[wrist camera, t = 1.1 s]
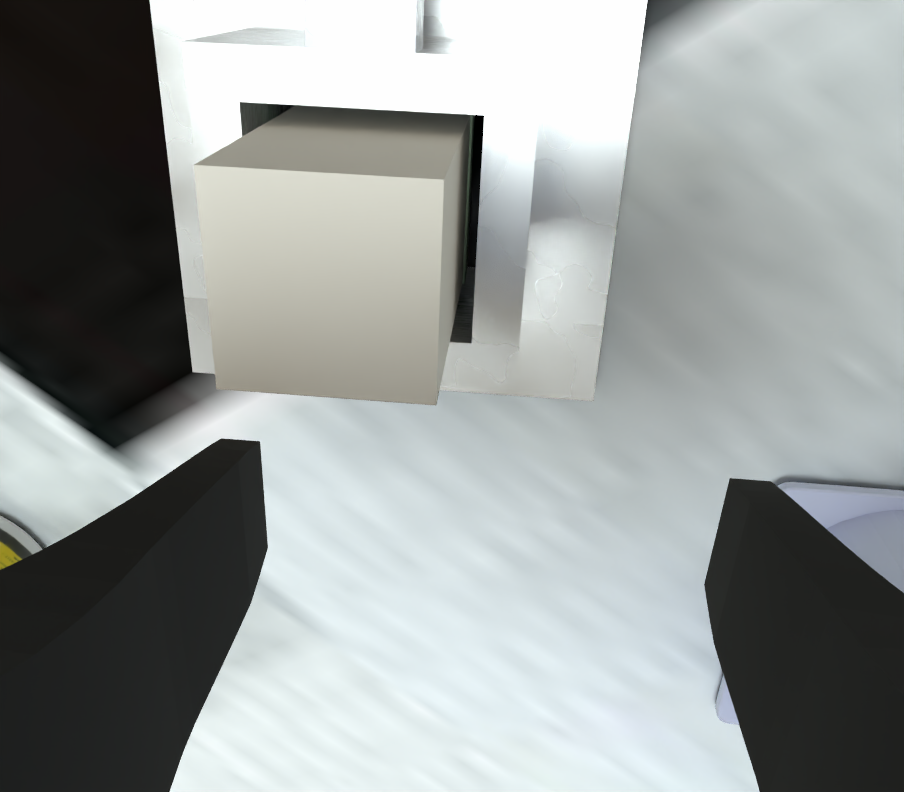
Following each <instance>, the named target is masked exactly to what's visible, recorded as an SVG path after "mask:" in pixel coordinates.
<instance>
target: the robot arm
mask: <svg viewBox="0 0 904 792" xmlns="http://www.w3.org/2000/svg"><path fill="white" fill-rule="evenodd" d="M267 548H268V544H267V531H266V517H265V504H264V490H263V477H262V463H261V450H260V442H259V441H246V440H233V439H220V440H218V441H216V442H215V443H213V444H211V445H210V446H208V447H207V448H205V449H204V450H202V451H201V452H199V453H198V454H196V455H195V456H193V457H192V458H190V459H189V460H188V461H186V462H185V463H183V464H182V465H180V466H179V467H177V468H176V469H174V470H173V471H171V472H170V473H169V474H167V475H166V476H164V477H163V478H161V479H160V480H158V481H157V482H155V483H154V484H152V485H151V486H149V487H148V488H146V489H145V490H143V491H142V492H140V493H139V494H137V495H136V496H134V497H133V498H131V499H129V500H128V501H126V502H125V503H123V504H121V505H120V506H118V507H116V508H115V509H113V510H111V511H110V512H108V513H106V514H105V515H103V516H101V517H100V518H98V519H96V520H95V521H93V522H91V523H90V524H88V525H86V526H85V527H83V528H81V529H80V530H78V531H76V532H75V533H73V534H71V535H69V536H67V537H65V538H64V539H62V540H60V541H58V542H56V543H54V544H52V545H50V546H49V547H47V548H45V549H43V550H41V551H39V552H36V553H34V554H32V555H30V556H28V557H26V558H24V559H22V560H20V561H18V562H16V563H14V564H12V565H10V566H7V567H5V568H3V569H1V570H0V792H169V791H170V788H171V785H172V783H173V780H174V777H175V774H176V771H177V768H178V765H179V762H180V759H181V756H182V754H183V751H184V749H185V746H186V744H187V741H188V739H189V736H190V734H191V732H192V729H193V727H194V724H195V722H196V720H197V718H198V716H199V714H200V712H201V709H202V707H203V705H204V703H205V701H206V699H207V697H208V694H209V692H210V690H211V688H212V686H213V684H214V682H215V680H216V677H217V675H218V673H219V671H220V669H221V667H222V665H223V662H224V660H225V658H226V656H227V654H228V652H229V650H230V648H231V645H232V643H233V641H234V639H235V637H236V635H237V632H238V630H239V628H240V626H241V624H242V621H243V619H244V617H245V615H246V613H247V610H248V608H249V606H250V604H251V601H252V598H253V595H254V592H255V588H256V585H257V582H258V579H259V576H260V572H261V569H262V565H263V562H264V559H265V555H266V552H267ZM704 585H705V592H706V598H707V605H708V611H709V618H710V623H711V629H712V634H713V640H714V645H715V648H716V651H717V655H718V658H719V661H720V665H721V668H722V671H723V677H722V681H721V685H720V689H719V693H718V697H717V700H716V704H715V709H716V713H717V716H718V718H719V719H720V720H721V721H723V722H725V723H729V724H738V725H740V728H741V732H742V735H743V738H744V741H745V744H746V747H747V751H748V754H749V757H750V760H751V763H752V766H753V769H754V773H755V776H756V779H757V783H758V787H759V791H760V792H904V490H891V489H878V488H865V487H852V486H839V485H826V484H814V483H801V482H784V483H782V484H779V485H777V486H776V485H775V484H774V483H772V482H771V481H758V480H745V479H732V478H730V480H729V484H728V488H727V492H726V496H725V501H724V505H723V509H722V513H721V517H720V521H719V526H718V530H717V534H716V538H715V542H714V546H713V551H712V555H711V559H710V563H709V567H708V571H707V576H706V580H705V584H704Z"/></svg>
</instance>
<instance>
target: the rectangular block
mask: <svg viewBox="0 0 904 792" xmlns="http://www.w3.org/2000/svg"><path fill="white" fill-rule="evenodd" d="M474 120H475V115H469V114H451V113H432V112H414V111H396V110H378V109H359V108H341V107H323V106H305V105H295V106H294V107H292V108H291V109H289V110H287V111H285V112H284V113H282V114H280V115H279V116H277V117H275V118H273V119H272V120H270V121H268V122H267V123H265V124H263V125H261V126H260V127H258V128H256V129H254V130H253V131H251V132H249V133H248V134H246V135H244V136H242V137H241V138H239V139H237V140H236V141H234V142H232V143H230V144H229V145H227V146H225V147H224V148H222V149H220V150H218V151H217V152H215V153H213V154H212V155H210V156H208V157H206V158H205V159H203V160H201V161H199V162H198V163H196V164H194V174H195V183H196V193H197V203H198V213H199V222H200V232H201V242H202V252H203V261H204V271H205V281H206V291H207V300H208V310H209V320H210V330H211V339H212V349H213V359H214V369H215V379H216V388H217V389H223V390H237V391H250V392H264V393H277V394H290V395H304V396H317V397H331V398H344V399H358V400H371V401H385V402H398V403H411V404H425V405H436V404H437V399H438V394H439V389H440V385H441V380H442V375H443V371H444V366H445V361H446V357H447V352H448V347H449V343H450V338H451V333H452V329H453V324H454V319H455V315H456V310H457V305H458V300H459V296H460V291H461V286H462V283H464V284H465V279H466V274H467V259H468V240H469V220H470V200H471V180H472V160H473V140H474Z"/></svg>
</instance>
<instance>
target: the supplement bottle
mask: <svg viewBox="0 0 904 792" xmlns="http://www.w3.org/2000/svg"><path fill="white" fill-rule="evenodd" d="M41 550H42V548H41V547H40V546H39V545H38V543H37V542H36V541H35V540H34V539H33V538H32V537H31V536H30V535H29V534H27V533H26V532H25V531H24V530H23V529H21V528H20V527H18V526H17V525H16V524H14V523H13V522H11V521H9V520H7V519H6V518H4V517H2V516H0V570H1V569H3V568H5V567H7V566H10V565H12V564H14V563H16V562H18V561H20V560H22V559H24V558H26V557H28V556H30V555H32V554H34V553H36V552H39V551H41Z"/></svg>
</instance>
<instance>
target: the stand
mask: <svg viewBox="0 0 904 792" xmlns="http://www.w3.org/2000/svg"><path fill="white" fill-rule="evenodd" d="M646 6H647V0H150V8H151V16H152V25H153V33H154V42H155V51H156V59H157V68H158V77H159V85H160V94H161V102H162V111H163V120H164V128H165V137H166V145H167V154H168V163H169V171H170V180H171V189H172V197H173V206H174V214H175V223H176V232H177V240H178V249H179V257H180V266H181V275H182V283H183V292H184V301H185V309H186V318H187V326H188V335H189V344H190V352H191V361H192V369H193V372H199V373H213V374H215V369H214V359H213V349H212V339H211V330H210V320H209V310H208V300H207V291H206V281H205V271H204V261H203V252H202V242H201V232H200V222H199V213H198V203H197V193H196V183H195V174H194V164H196V163H198V162H199V161H201V160H203V159H205V158H206V157H208V156H210V155H212V154H213V153H215V152H217V151H218V150H220V149H222V148H224V147H225V146H227V145H229V144H230V143H232V142H234V141H236V140H237V139H239V138H241V137H242V136H244V135H246V134H248V133H249V132H251V131H253V130H254V129H256V128H258V127H260V126H261V125H263V124H265V123H267V122H268V121H270V120H272V119H273V118H275V117H277V116H279V115H280V114H282V113H284V112H285V111H287V110H289V109H291V108H292V107H294V106H295V105H305V106H323V107H341V108H359V109H378V110H396V111H414V112H432V113H451V114H469V115H484V127H483V145H482V163H481V181H480V199H479V217H478V236H477V254H476V267H467V274H466V279H465V284H464V283H462V286H461V291H460V296H459V300H458V305H457V310H456V315H455V319H454V324H453V329H452V333H451V338H450V343H449V347H448V352H447V357H446V361H445V366H444V371H443V375H442V380H441V385H440V389H439V390H445V391H458V392H472V393H486V394H499V395H513V396H527V397H540V398H554V399H567V400H581V401H594V393H595V386H596V378H597V371H598V363H599V356H600V348H601V341H602V334H603V326H604V319H605V311H606V304H607V296H608V289H609V281H610V274H611V266H612V259H613V252H614V244H615V237H616V229H617V222H618V214H619V207H620V199H621V192H622V185H623V177H624V170H625V162H626V155H627V147H628V140H629V132H630V125H631V117H632V110H633V103H634V95H635V88H636V80H637V73H638V65H639V58H640V50H641V43H642V36H643V28H644V21H645V13H646Z"/></svg>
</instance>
